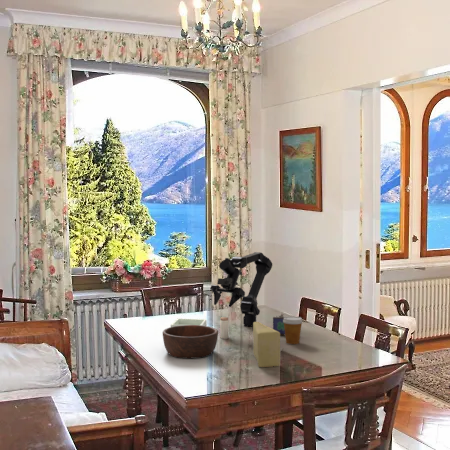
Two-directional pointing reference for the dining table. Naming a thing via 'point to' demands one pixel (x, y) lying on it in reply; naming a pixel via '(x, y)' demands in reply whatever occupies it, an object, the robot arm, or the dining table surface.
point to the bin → (189, 322)
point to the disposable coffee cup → (292, 329)
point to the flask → (279, 324)
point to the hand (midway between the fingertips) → (222, 305)
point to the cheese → (266, 345)
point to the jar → (224, 327)
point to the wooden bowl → (190, 341)
